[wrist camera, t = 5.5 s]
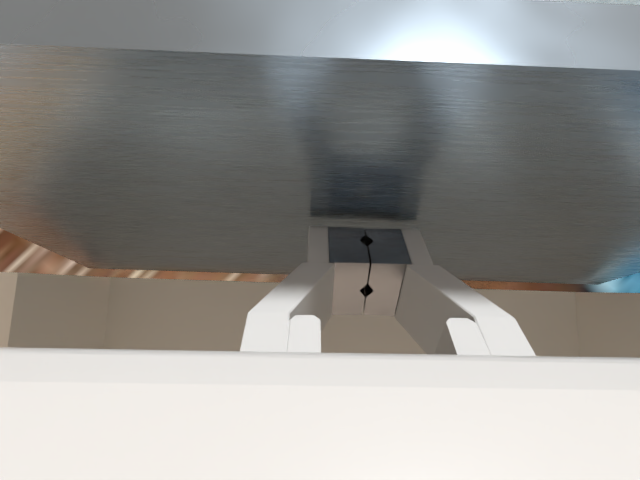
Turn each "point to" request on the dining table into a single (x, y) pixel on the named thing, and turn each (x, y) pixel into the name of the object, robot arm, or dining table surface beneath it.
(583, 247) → the grey rectangular panel
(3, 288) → the drawer box
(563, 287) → the dining table surface
